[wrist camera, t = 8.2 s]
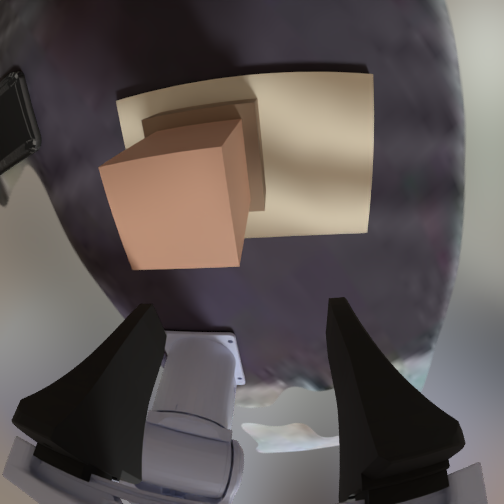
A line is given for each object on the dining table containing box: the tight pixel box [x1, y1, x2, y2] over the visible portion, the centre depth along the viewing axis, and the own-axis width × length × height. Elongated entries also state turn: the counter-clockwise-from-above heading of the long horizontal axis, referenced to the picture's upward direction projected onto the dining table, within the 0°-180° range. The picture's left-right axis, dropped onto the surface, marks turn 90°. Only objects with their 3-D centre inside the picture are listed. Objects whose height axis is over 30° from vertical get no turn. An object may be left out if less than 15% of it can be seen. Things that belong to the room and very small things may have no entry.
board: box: [116, 72, 374, 238], centre depth 18 cm, size 11×16×1 cm
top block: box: [99, 119, 251, 270], centre depth 12 cm, size 4×4×6 cm
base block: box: [141, 98, 266, 212], centre depth 16 cm, size 6×6×3 cm
